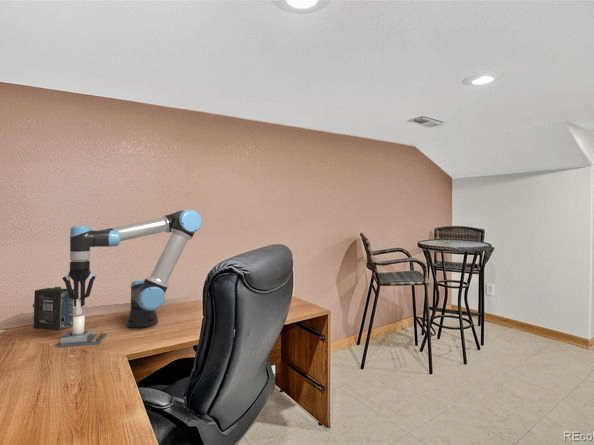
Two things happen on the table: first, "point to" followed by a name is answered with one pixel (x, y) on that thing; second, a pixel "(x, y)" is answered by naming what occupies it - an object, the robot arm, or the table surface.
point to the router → (52, 309)
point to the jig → (81, 339)
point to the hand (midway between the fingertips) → (79, 313)
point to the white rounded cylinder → (78, 325)
